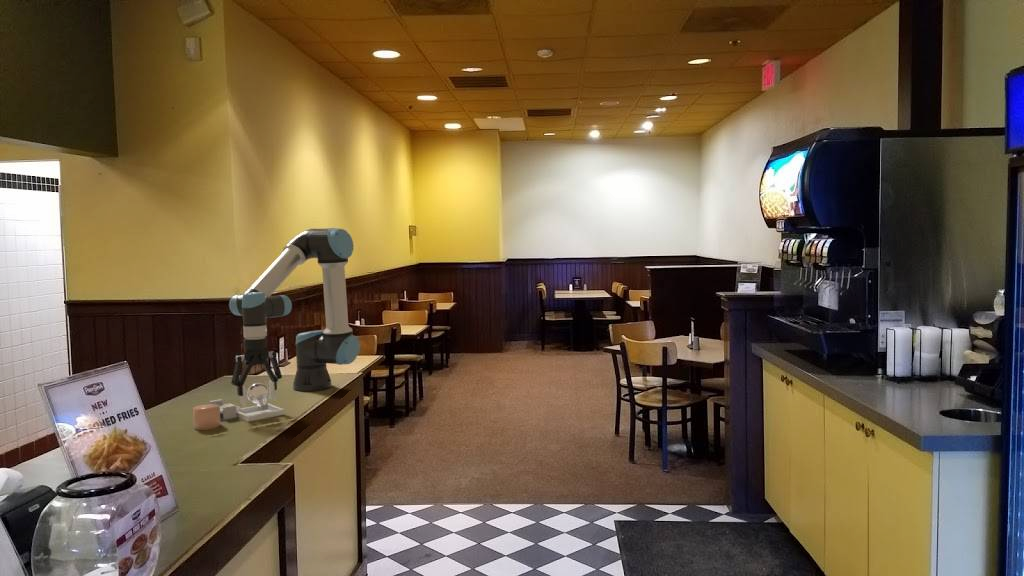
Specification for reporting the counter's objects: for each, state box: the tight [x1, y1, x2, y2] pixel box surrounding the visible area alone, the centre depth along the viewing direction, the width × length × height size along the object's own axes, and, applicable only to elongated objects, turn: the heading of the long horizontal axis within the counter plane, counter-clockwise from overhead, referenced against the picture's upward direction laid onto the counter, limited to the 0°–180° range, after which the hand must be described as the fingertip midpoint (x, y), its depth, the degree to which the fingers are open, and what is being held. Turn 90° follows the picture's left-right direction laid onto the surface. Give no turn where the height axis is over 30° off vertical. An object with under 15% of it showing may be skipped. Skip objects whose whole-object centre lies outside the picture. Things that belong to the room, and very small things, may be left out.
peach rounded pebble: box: [192, 403, 222, 431], centre depth 229 cm, size 8×8×7 cm
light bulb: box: [246, 382, 269, 411], centre depth 243 cm, size 7×7×12 cm
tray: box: [237, 403, 286, 423], centre depth 243 cm, size 13×13×2 cm
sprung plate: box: [220, 403, 242, 414], centre depth 243 cm, size 9×9×1 cm
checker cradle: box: [208, 398, 239, 422], centre depth 243 cm, size 10×14×5 cm
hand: (258, 402), depth 243 cm, fingers open, 9 cm apart
